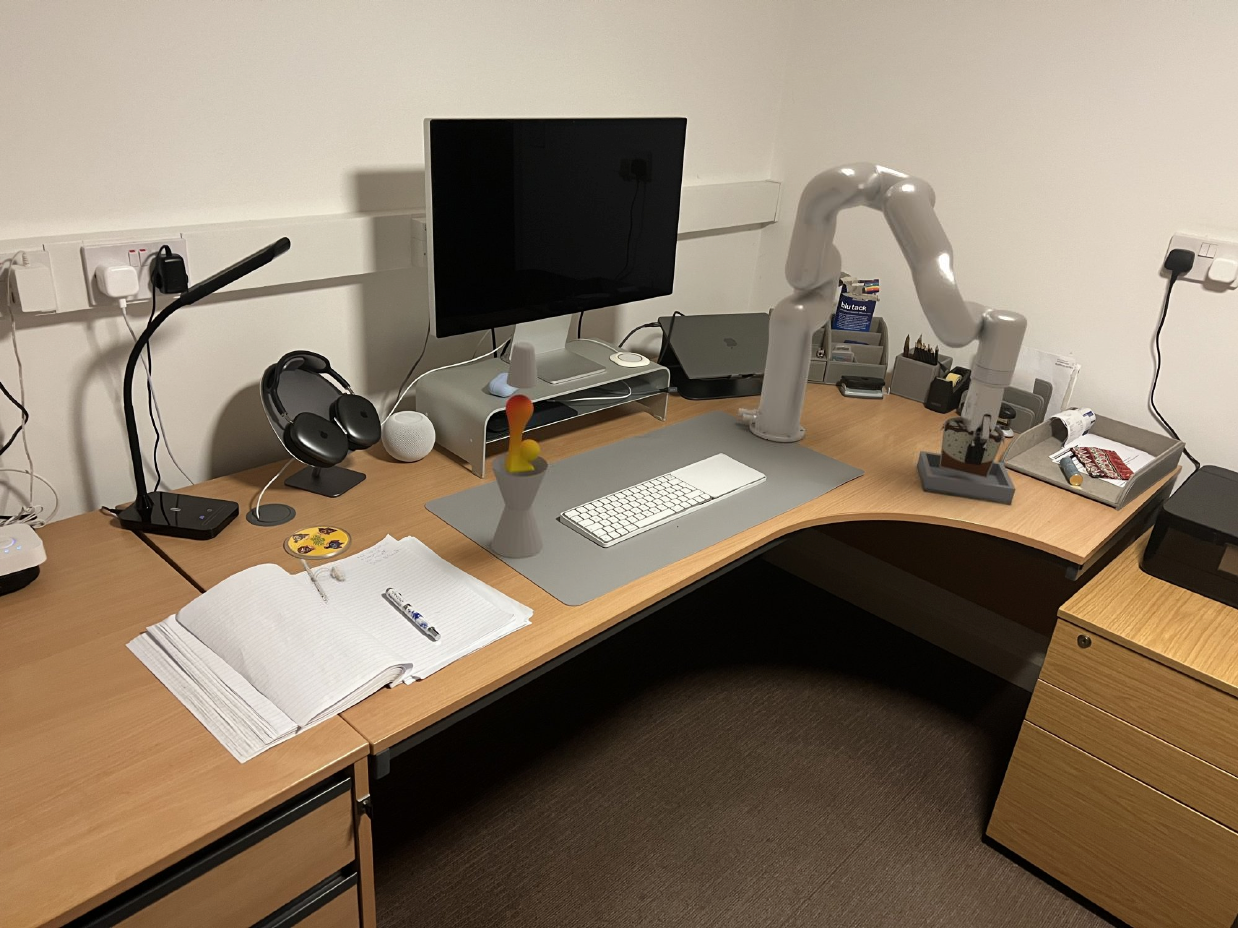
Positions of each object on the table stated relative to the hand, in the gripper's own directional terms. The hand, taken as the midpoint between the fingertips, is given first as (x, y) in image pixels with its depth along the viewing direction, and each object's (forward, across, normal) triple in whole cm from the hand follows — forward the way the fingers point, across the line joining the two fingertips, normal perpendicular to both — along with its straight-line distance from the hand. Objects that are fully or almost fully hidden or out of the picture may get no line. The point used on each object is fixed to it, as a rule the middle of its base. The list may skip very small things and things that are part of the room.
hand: (969, 456), depth 180 cm
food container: (+3, -1, 0) cm, 3 cm away
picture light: (+7, +72, -105) cm, 127 cm away
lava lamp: (+6, +53, -80) cm, 96 cm away
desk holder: (+6, 0, 0) cm, 6 cm away
